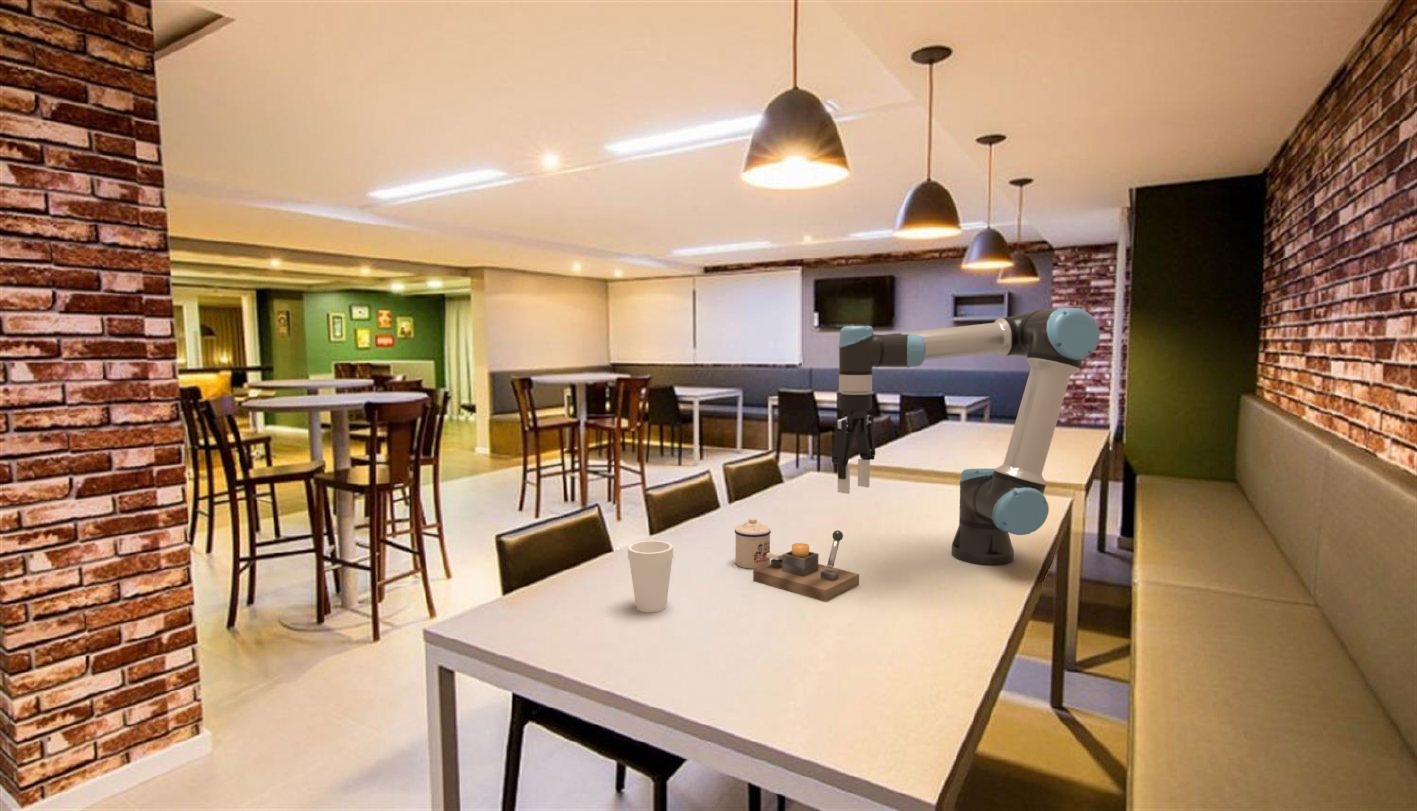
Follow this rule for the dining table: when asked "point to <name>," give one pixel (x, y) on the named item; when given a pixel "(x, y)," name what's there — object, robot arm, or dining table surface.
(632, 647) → the dining table surface
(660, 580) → the foam cup
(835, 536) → the toggle lever
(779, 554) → the rocker switch
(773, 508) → the dining table surface
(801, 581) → the switch panel
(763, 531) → the teacup with lid
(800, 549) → the push button
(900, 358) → the robot arm
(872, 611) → the dining table surface
